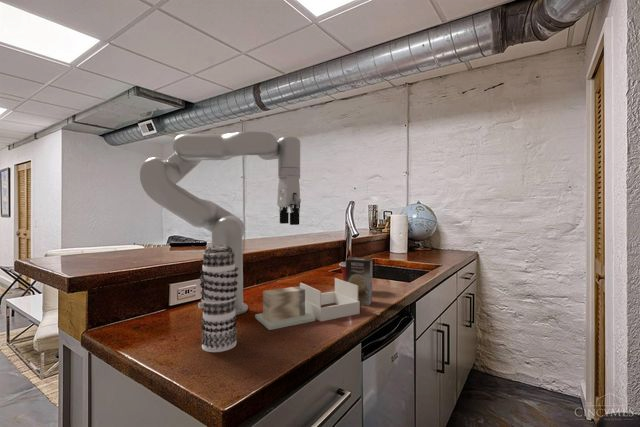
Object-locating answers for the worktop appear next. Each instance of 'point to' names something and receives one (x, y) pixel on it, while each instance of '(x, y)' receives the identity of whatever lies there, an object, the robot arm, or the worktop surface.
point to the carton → (332, 301)
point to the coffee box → (360, 277)
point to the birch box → (283, 303)
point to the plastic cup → (343, 270)
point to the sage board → (284, 321)
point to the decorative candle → (218, 299)
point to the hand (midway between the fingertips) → (289, 224)
